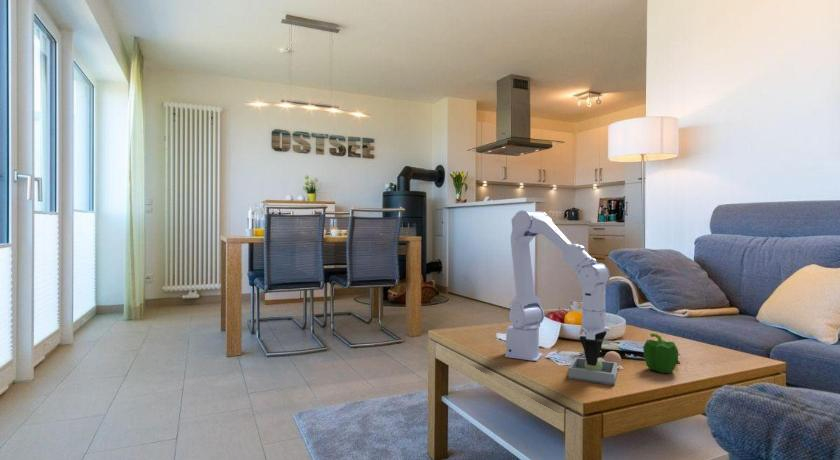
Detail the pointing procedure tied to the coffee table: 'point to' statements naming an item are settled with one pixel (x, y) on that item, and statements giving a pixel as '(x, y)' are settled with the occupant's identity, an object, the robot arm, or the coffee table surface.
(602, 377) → the dish
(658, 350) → the bell pepper
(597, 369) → the olive ball
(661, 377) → the coffee table surface
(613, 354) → the terracotta ball
